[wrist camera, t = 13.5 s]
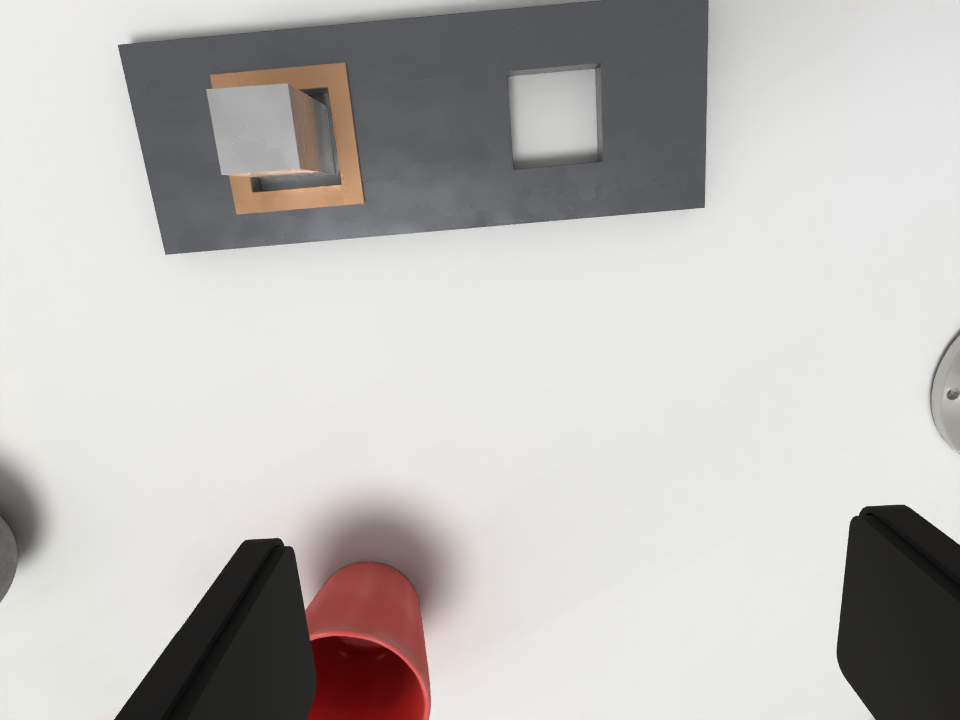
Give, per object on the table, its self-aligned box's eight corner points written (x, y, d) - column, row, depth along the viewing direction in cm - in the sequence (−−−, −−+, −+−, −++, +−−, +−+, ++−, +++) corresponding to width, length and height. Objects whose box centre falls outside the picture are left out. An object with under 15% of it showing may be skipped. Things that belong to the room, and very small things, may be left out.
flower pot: (432, 537, 45) (422, 628, 36) (443, 656, 48) (436, 769, 39) (293, 545, 45) (246, 637, 36) (312, 663, 48) (273, 778, 39)
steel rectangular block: (326, 106, 37) (287, 83, 29) (335, 174, 38) (300, 169, 30) (262, 111, 37) (206, 89, 29) (272, 178, 38) (221, 174, 30)
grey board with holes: (698, -2, 35) (710, -12, 33) (695, 206, 38) (706, 207, 37) (132, 50, 36) (114, 43, 34) (176, 252, 39) (163, 255, 37)
